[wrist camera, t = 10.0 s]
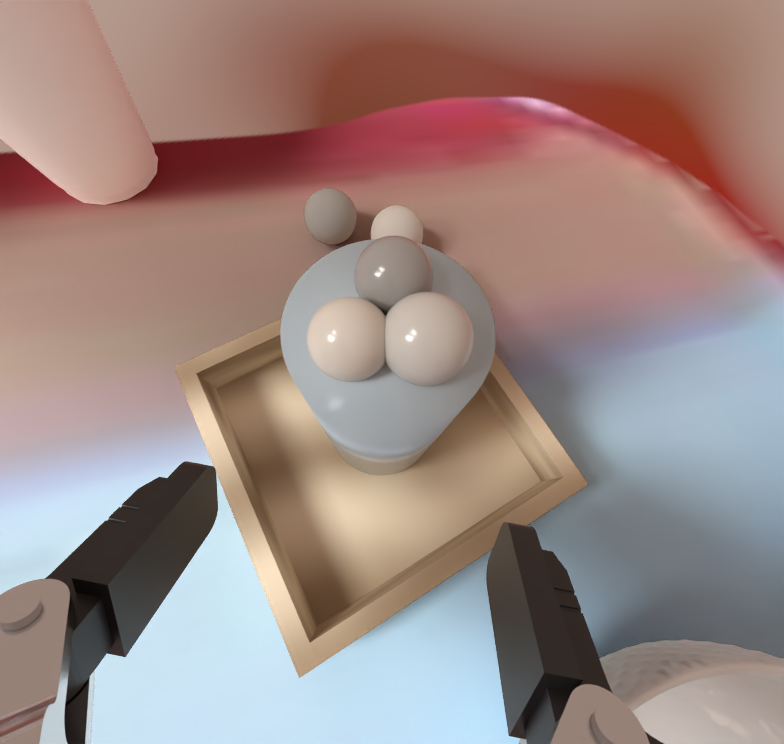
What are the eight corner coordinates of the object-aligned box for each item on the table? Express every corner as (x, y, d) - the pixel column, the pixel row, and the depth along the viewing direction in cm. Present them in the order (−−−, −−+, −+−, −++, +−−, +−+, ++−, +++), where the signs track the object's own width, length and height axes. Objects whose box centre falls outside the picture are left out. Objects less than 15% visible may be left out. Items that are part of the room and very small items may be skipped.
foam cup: (49, 123, 27) (-216, -192, 15) (183, 116, 28) (35, -189, 16) (25, 230, 24) (-338, -61, 12) (177, 218, 25) (-15, -66, 13)
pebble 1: (300, 226, 25) (290, 187, 22) (344, 208, 26) (340, 168, 23) (322, 262, 24) (314, 226, 21) (366, 243, 25) (365, 206, 22)
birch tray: (202, 387, 21) (173, 366, 18) (419, 285, 24) (425, 253, 21) (312, 648, 17) (299, 678, 14) (556, 488, 20) (588, 484, 17)
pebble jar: (313, 399, 20) (227, 239, 8) (403, 358, 21) (441, 165, 9) (355, 494, 19) (324, 465, 7) (450, 446, 20) (568, 347, 8)
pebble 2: (362, 242, 25) (360, 204, 22) (404, 224, 25) (408, 185, 22) (386, 279, 24) (387, 245, 21) (429, 259, 25) (436, 224, 22)
